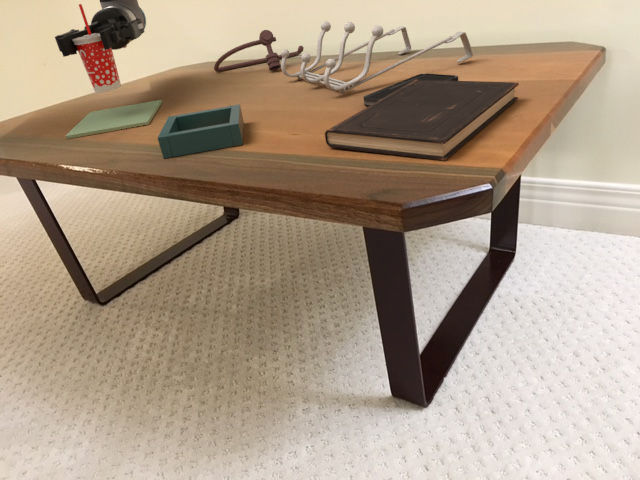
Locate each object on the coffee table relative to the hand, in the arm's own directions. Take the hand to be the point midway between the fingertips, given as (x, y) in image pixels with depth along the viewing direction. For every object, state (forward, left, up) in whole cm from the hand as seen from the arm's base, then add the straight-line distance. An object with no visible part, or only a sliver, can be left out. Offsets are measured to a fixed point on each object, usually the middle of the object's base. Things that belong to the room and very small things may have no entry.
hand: (83, 44), depth 87 cm
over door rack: (+48, +7, -14) cm, 50 cm away
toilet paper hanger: (+28, +31, -14) cm, 44 cm away
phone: (+50, -13, -14) cm, 53 cm away
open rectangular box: (+18, -18, -14) cm, 29 cm away
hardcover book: (+48, -28, -14) cm, 57 cm away
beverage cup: (0, +5, -9) cm, 10 cm away
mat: (0, +5, -14) cm, 15 cm away
